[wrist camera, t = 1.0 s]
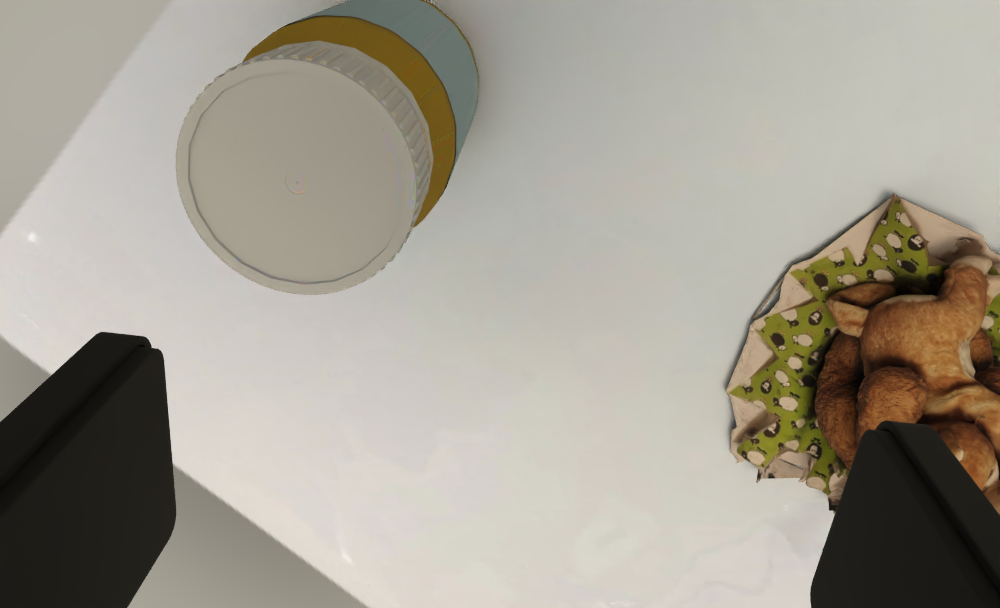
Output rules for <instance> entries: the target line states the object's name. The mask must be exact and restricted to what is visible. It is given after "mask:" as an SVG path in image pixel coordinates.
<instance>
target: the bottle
mask: <svg viewBox="0 0 1000 608" xmlns="http://www.w3.org/2000/svg"><path fill="white" fill-rule="evenodd" d="M478 78H479V77H478V70H477V66H476V63H475V59H474V56H473V52H472V49H471V47H470V45H469V43H468V41H467V40H466V38H465V37H464V35H463V34H462V32H461V31H460V29H459V28H458V26H457V25H456V24H455V23H454V22H453V20H452V19H450V18H449V17H448V16H447V15H445V14H444V13H443V12H442V11H441V10H439V9H438V8H437V7H436V6H434V5H432V4H431V3H429V2H426V1H424V0H350V1H347V2H344V3H342V4H339V5H337V6H334V7H331V8H329V9H326V10H324V11H321V12H319V13H316V14H313V15H311V16H308V17H306V18H303V19H300V20H298V21H295V22H293V23H290V24H288V25H286V26H284V27H282V28H280V29H278V30H277V31H275V32H274V33H272V34H271V35H270V36H268V37H267V38H266V39H264V40H263V41H262V42H261V43H259V44H258V45H257V46H255V47H254V48H253V49H252V50H251V51H250V52H249V53H248V54H247V56H246V57H245V59H244V60H243V62H242V63H240V64H238V65H237V66H234V67H232V68H230V69H228V70H226V71H225V73H224V74H222V75H219V76H217V77H216V78H215V79H214V82H213V83H211V84H209V85H207V86H206V87H205V91H204V92H203V93H201V94H199V95H198V96H197V98H196V101H195V103H194V104H193V105H192V106H191V107H190V109H189V112H188V114H187V116H186V117H185V119H184V123H183V125H182V128H181V131H180V135H179V139H178V143H177V150H176V176H177V183H178V188H179V192H180V196H181V199H182V202H183V205H184V208H185V210H186V213H187V215H188V217H189V219H190V221H191V223H192V224H193V226H194V228H195V229H196V231H197V233H198V234H199V235H200V237H201V238H202V240H203V241H204V242H205V243H206V245H207V246H208V247H209V248H210V249H211V250H212V251H213V252H214V253H215V254H216V255H217V256H218V257H219V258H220V259H221V260H222V261H223V262H224V263H226V264H227V265H228V266H229V267H231V268H232V269H233V270H235V271H236V272H238V273H239V274H241V275H243V276H244V277H246V278H248V279H250V280H252V281H254V282H256V283H258V284H261V285H263V286H266V287H269V288H272V289H275V290H279V291H283V292H288V293H294V294H306V295H315V294H326V293H332V292H337V291H341V290H344V289H347V288H350V287H352V286H355V285H357V284H359V283H362V282H364V281H365V280H367V279H368V278H370V277H372V276H374V275H375V274H376V273H377V272H378V271H379V270H382V269H383V268H385V266H386V264H387V263H388V262H391V261H392V260H393V259H394V256H395V254H396V253H399V252H400V250H401V248H402V246H403V244H404V243H405V242H406V241H407V239H408V237H409V235H410V232H411V231H412V229H413V228H414V227H415V226H417V225H418V224H419V223H420V222H421V221H422V220H423V219H424V218H425V217H426V216H427V214H428V213H429V212H430V211H431V209H432V208H433V207H434V205H435V204H436V203H437V202H438V200H439V199H440V197H441V196H442V194H443V192H444V190H445V189H446V187H447V184H448V181H449V179H450V176H451V174H452V171H453V169H454V166H455V163H456V161H457V158H458V156H459V153H460V151H461V148H462V145H463V143H464V140H465V138H466V135H467V132H468V130H469V127H470V125H471V122H472V119H473V116H474V113H475V110H476V107H477V101H478Z"/></svg>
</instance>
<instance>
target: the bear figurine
mask: <svg viewBox="0 0 1000 608" xmlns="http://www.w3.org/2000/svg"><path fill="white" fill-rule="evenodd" d="M782 281H783V283H782ZM781 283H782V286H781V293H780V300H779V301H778V302H777V303H776V304H775V306H774V307H773V308H772V309H771V311H770V312H769V313H768V314H766V315H765V316H763V317H762V318H759V319H758V320H755V321H754V322H753V323H752V324H751V325H750V330H749V334H748V337H747V341H746V343H745V346H744V348H743V351H742V353H741V356H740V358H739V360H738V363H737V365H736V368H735V370H734V373H733V375H732V378H731V380H730V383H729V385H728V387H727V390H726V392H727V394H728V395H729V396H730V398H731V403H732V407H733V411H734V416H735V420H736V425H737V427H736V428H735V429H733V430H732V434H731V453H732V454H733V455H734V456H735V457H736V458H737V463H739V462H742V461H744V460H747V461H749V462H750V463H752V464H754V465H755V466H756V467H758V468H759V469H758V475H757V482H756V483H758V482H759V480H760V479H763V478H801V479H800V480H799V481H798V482H803V481H805V480H807V481H806V485H807V486H809V487H812V488H815V489H819V490H822V491H823V492H824V493H825V494H827V496H828V501H829V510H830V511H831V510H833V512H834V514H835V513H836V510H837V507H838V504H839V501H840V498H841V495H842V493H843V490H844V487H845V484H846V481H847V478H848V475H849V472H850V469H851V466H852V463H853V460H854V457H855V454H856V451H857V448H858V445H859V442H860V440H861V437H862V435H863V434H864V432H865V431H866V430H869V429H871V430H875V429H876V427H877V426H878V425H879V424H880V423H881V422H882V421H885V420H888V421H897V422H906V423H914V424H923V425H929V426H931V427H932V428H934V429H935V430H936V432H937V433H938V434H939V436H940V437H941V438H942V439H943V441H944V442H945V443H946V445H947V446H948V447H949V449H950V450H951V451H952V453H953V454H954V455H955V457H956V458H957V459H958V461H959V462H960V463H961V464H962V466H963V467H964V468H965V470H966V471H967V472H968V474H969V475H970V476H971V478H972V479H973V480H974V482H975V483H976V484H977V486H978V487H979V488H980V489H981V491H982V492H983V493H984V495H985V496H986V497H987V499H988V500H989V501H990V503H991V504H992V505H993V507H994V508H995V509H996V510H997V512H998V513H999V514H1000V255H999V254H997V253H994V252H992V250H991V249H990V248H989V247H988V246H987V244H986V242H985V241H984V236H981V235H979V234H977V233H975V232H973V231H971V230H968V229H966V228H964V227H962V226H960V225H958V224H955V223H953V222H951V221H949V220H947V219H945V218H942V217H940V216H938V215H936V214H934V213H932V212H929V211H927V210H925V209H923V208H921V207H919V206H916V205H914V204H912V203H910V202H908V201H905V200H903V199H901V198H898V196H897V195H895V194H894V193H893V195H892V197H891V198H890V199H888V200H887V201H886V202H885V203H883V204H882V205H881V206H880V207H878V208H877V209H876V210H874V211H873V212H872V213H870V214H869V215H868V216H867V217H865V218H864V219H863V220H861V221H860V222H859V223H857V224H856V225H855V226H854V227H852V228H851V229H850V230H848V231H847V232H846V233H844V234H843V235H842V236H841V237H839V238H838V239H837V240H835V241H834V242H833V243H832V244H830V245H829V246H828V247H826V248H825V249H824V250H822V251H821V252H820V253H819V254H817V255H816V256H815V257H813V258H811V259H809V260H806V261H803V262H800V263H797V264H794V265H792V266H791V268H790V269H789V270H788V272H787V273H786V274H785V276H784V277H783V278H782V280H781V281H780V283H779V284H778V285H777V287H776V288H775V289H774V291H773V292H772V293H771V295H770V296H769V297H768V299H767V300H766V301H765V303H764V304H763V305H762V307H761V308H760V310H759V311H758V312H757V314H756V315H755V316H754V318H753V320H754V319H755V318H756V316H757V315H758V314H759V312H760V311H761V310H762V308H763V307H764V306H765V304H766V303H767V302H768V300H769V299H770V297H771V296H772V295H773V293H774V292H775V291H776V289H777V288H778V287H779V285H780V284H781ZM779 458H780V459H779ZM781 459H782V460H781ZM783 460H785V461H787V462H790V463H793V464H795V465H798V466H800V467H802V468H803V470H802V469H800V468H798V467H796V466H794V465H791V464H789V463H787V462H785V461H783Z"/></svg>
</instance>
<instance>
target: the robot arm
mask: <svg viewBox="0 0 1000 608" xmlns="http://www.w3.org/2000/svg"><path fill="white" fill-rule="evenodd" d="M175 519H176V501H175V489H174V477H173V464H172V452H171V440H170V428H169V416H168V404H167V392H166V379H165V367H164V358H163V354H162V352H161V351H160V350H159V349H154V348H151V344H150V342H149V340H148V339H147V338H146V337H144V336H135V335H126V334H117V333H108V332H100V333H98V334H96V335H95V336H94V337H93V338H92V339H91V340H90V341H88V342H87V343H86V344H85V345H84V346H83V347H82V348H81V349H80V350H79V351H78V352H76V353H75V354H74V355H73V356H72V357H71V358H70V359H69V360H68V361H67V362H66V363H64V364H63V365H62V366H61V367H60V368H59V369H58V370H57V371H56V372H55V373H54V374H52V375H51V376H50V377H49V378H48V379H47V380H46V381H45V382H44V383H43V384H42V385H41V386H39V387H38V388H37V389H36V390H35V391H34V392H33V393H32V394H31V395H30V396H29V397H27V398H26V399H25V400H24V401H23V402H22V403H21V404H20V405H19V406H17V408H15V409H14V410H13V411H12V412H11V413H10V414H9V415H8V416H7V417H6V418H4V419H3V420H2V421H1V422H0V608H127V607H128V606H129V604H130V602H131V601H132V599H133V597H134V596H135V594H136V592H137V590H138V589H139V588H140V586H141V584H142V583H143V581H144V579H145V578H146V576H147V574H148V573H149V571H150V570H151V568H152V566H153V565H154V563H155V562H156V560H157V558H158V556H159V555H160V553H161V552H162V550H163V548H164V547H165V545H166V544H167V542H168V540H169V538H170V536H171V534H172V531H173V529H174V525H175ZM810 597H811V608H1000V514H999V513H998V512H997V510H996V509H995V508H994V507H993V505H992V504H991V503H990V501H989V500H988V499H987V497H986V496H985V495H984V493H983V492H982V491H981V489H980V488H979V487H978V486H977V484H976V483H975V482H974V480H973V479H972V478H971V476H970V475H969V474H968V472H967V471H966V470H965V468H964V467H963V466H962V464H961V463H960V462H959V461H958V459H957V458H956V457H955V455H954V454H953V453H952V451H951V450H950V449H949V447H948V446H947V445H946V443H945V442H944V441H943V439H942V438H941V437H940V436H939V434H938V433H937V432H936V430H935V429H934V428H932V427H931V426H929V425H923V424H914V423H906V422H897V421H888V420H885V421H882V422H881V423H880V424H879V425H878V426H877V427H876V429H875V430H871V429H869V430H866V431H865V432H864V434H863V435H862V437H861V440H860V442H859V445H858V448H857V451H856V454H855V457H854V460H853V463H852V466H851V469H850V472H849V475H848V478H847V481H846V484H845V487H844V490H843V493H842V495H841V498H840V501H839V504H838V507H837V510H836V513H835V516H834V519H833V522H832V525H831V528H830V531H829V534H828V537H827V540H826V543H825V546H824V549H823V552H822V555H821V557H820V560H819V563H818V566H817V569H816V572H815V575H814V578H813V581H812V585H811V593H810Z"/></svg>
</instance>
